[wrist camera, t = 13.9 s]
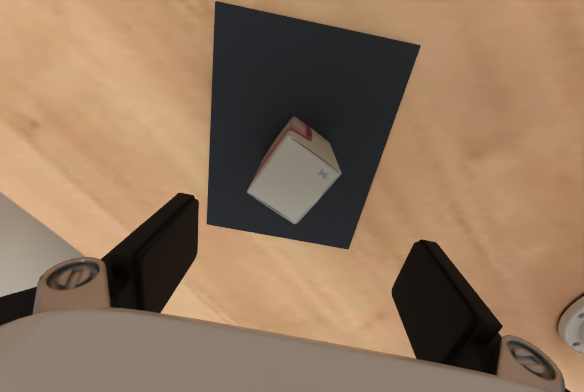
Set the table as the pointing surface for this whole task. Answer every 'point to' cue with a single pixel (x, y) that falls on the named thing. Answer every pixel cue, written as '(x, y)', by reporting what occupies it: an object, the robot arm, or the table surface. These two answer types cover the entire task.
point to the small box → (295, 171)
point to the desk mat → (299, 114)
